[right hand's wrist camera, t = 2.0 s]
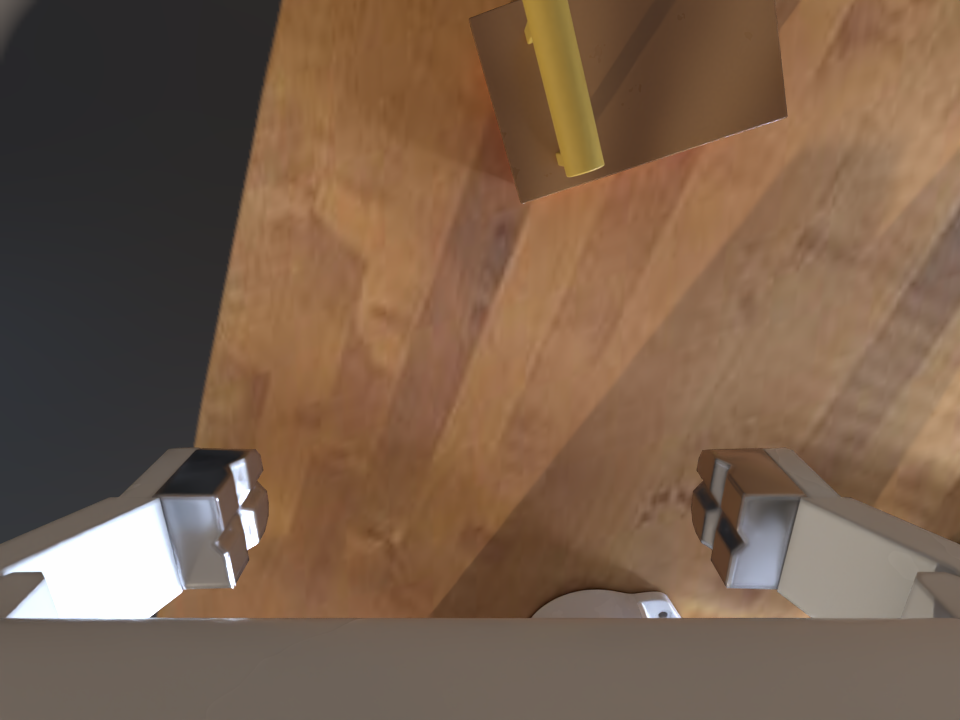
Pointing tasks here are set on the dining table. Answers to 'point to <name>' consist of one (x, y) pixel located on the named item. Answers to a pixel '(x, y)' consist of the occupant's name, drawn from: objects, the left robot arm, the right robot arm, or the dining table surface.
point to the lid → (624, 82)
